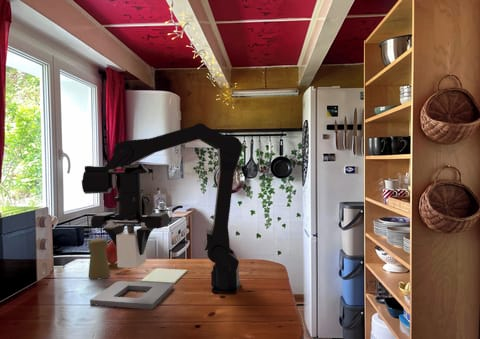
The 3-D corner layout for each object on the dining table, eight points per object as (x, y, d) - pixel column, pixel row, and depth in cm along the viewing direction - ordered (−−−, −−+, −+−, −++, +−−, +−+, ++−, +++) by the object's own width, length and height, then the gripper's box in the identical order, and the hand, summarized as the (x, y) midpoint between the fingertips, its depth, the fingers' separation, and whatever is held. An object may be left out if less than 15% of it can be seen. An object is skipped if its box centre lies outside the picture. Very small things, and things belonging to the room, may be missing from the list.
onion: (99, 266, 107) (98, 242, 107) (111, 261, 113) (110, 237, 112) (114, 267, 106) (113, 243, 105) (125, 262, 111) (124, 238, 111)
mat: (187, 271, 101) (187, 269, 101) (174, 283, 91) (174, 282, 91) (156, 269, 103) (156, 268, 103) (140, 281, 93) (140, 280, 93)
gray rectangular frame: (173, 288, 88) (173, 283, 88) (152, 309, 76) (152, 304, 76) (118, 285, 91) (118, 280, 91) (90, 304, 79) (90, 299, 79)
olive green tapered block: (113, 272, 102) (112, 236, 101) (103, 279, 96) (102, 241, 95) (95, 272, 102) (93, 236, 102) (83, 279, 96) (82, 241, 96)
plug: (146, 261, 85) (144, 222, 85) (136, 268, 80) (134, 227, 80) (128, 260, 86) (126, 222, 86) (117, 267, 81) (115, 226, 81)
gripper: (177, 188, 88) (179, 246, 89) (113, 188, 92) (116, 244, 93) (158, 193, 78) (161, 259, 78) (87, 193, 81) (90, 256, 82)
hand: (131, 254), depth 83 cm, fingers closed on plug, 5 cm apart
